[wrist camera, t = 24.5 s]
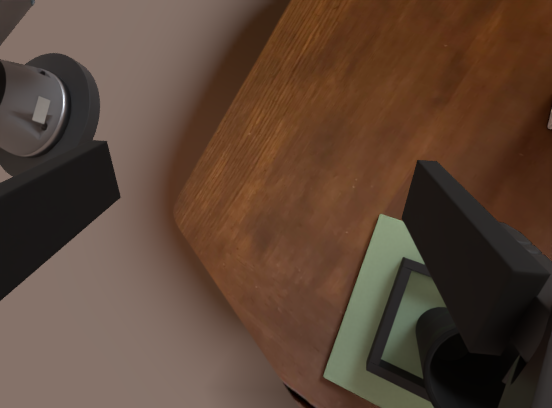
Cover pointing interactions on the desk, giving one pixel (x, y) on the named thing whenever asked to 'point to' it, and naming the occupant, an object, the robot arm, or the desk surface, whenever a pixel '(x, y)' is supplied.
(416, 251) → the dock pad
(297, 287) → the desk surface
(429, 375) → the cup
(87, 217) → the robot arm
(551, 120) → the ink box
